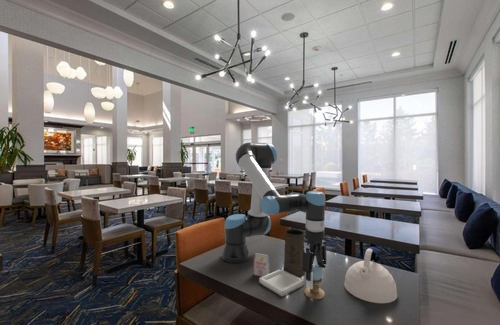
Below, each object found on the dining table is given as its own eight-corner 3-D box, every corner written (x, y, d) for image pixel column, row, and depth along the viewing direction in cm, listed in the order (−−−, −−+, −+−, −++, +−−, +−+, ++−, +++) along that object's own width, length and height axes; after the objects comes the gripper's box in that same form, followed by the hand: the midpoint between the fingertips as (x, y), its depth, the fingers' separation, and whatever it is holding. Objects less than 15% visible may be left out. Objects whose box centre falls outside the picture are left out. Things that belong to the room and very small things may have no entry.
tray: (259, 282, 110) (259, 277, 110) (280, 273, 118) (280, 268, 118) (282, 296, 99) (282, 291, 99) (303, 285, 108) (303, 280, 108)
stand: (305, 298, 97) (306, 282, 97) (303, 287, 105) (303, 272, 105) (326, 299, 97) (326, 283, 96) (322, 288, 105) (322, 273, 104)
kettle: (337, 291, 103) (337, 249, 102) (352, 273, 119) (353, 236, 118) (391, 311, 90) (392, 262, 89) (401, 288, 106) (402, 246, 105)
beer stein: (305, 277, 114) (306, 234, 115) (282, 275, 116) (283, 233, 117) (304, 265, 129) (305, 227, 130) (284, 263, 131) (285, 226, 132)
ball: (304, 279, 101) (304, 265, 101) (312, 275, 105) (313, 261, 105) (316, 285, 97) (316, 270, 96) (325, 280, 100) (325, 266, 100)
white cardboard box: (256, 271, 120) (256, 251, 120) (269, 274, 117) (269, 253, 117) (253, 274, 117) (253, 254, 117) (266, 277, 114) (266, 256, 114)
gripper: (308, 236, 91) (307, 297, 92) (336, 227, 103) (335, 281, 104) (292, 231, 97) (292, 289, 98) (320, 223, 109) (320, 274, 110)
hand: (314, 284), depth 101 cm, fingers closed on ball, stand, 6 cm apart
